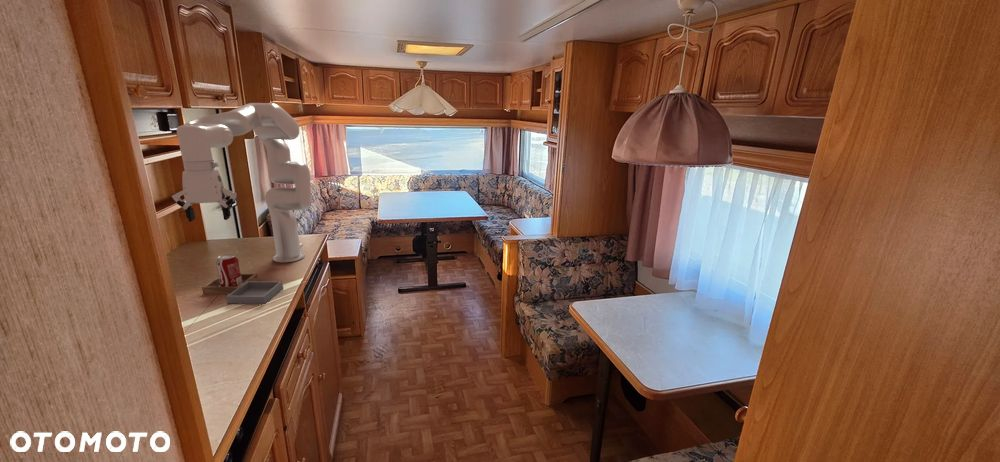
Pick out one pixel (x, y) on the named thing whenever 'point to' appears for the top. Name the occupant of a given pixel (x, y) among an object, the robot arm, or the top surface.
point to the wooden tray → (213, 289)
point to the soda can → (228, 270)
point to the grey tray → (254, 293)
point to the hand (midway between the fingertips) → (209, 219)
